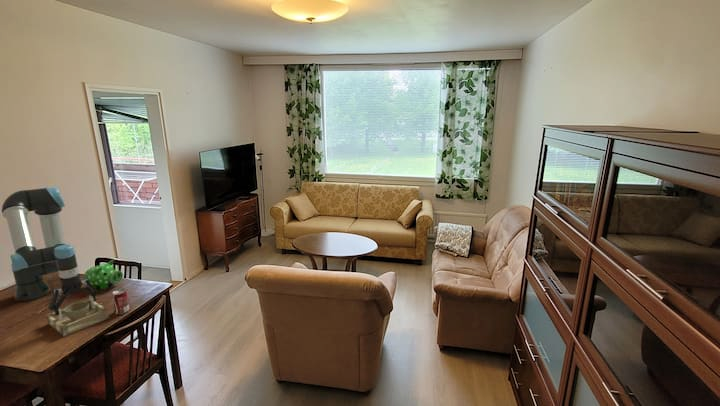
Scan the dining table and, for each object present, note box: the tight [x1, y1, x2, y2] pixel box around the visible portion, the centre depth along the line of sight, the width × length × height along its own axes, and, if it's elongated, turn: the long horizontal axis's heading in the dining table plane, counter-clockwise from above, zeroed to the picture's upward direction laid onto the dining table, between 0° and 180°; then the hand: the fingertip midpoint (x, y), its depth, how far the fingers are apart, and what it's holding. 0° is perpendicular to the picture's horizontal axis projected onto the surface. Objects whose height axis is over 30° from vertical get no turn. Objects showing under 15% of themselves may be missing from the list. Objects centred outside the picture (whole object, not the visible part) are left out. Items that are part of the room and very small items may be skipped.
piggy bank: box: [83, 259, 124, 290], centre depth 210 cm, size 14×18×15 cm
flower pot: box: [63, 301, 89, 321], centre depth 175 cm, size 10×10×7 cm
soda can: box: [111, 288, 130, 315], centre depth 183 cm, size 7×7×12 cm
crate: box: [46, 298, 110, 338], centre depth 175 cm, size 19×19×5 cm
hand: (77, 313), depth 175 cm, fingers open, 13 cm apart
